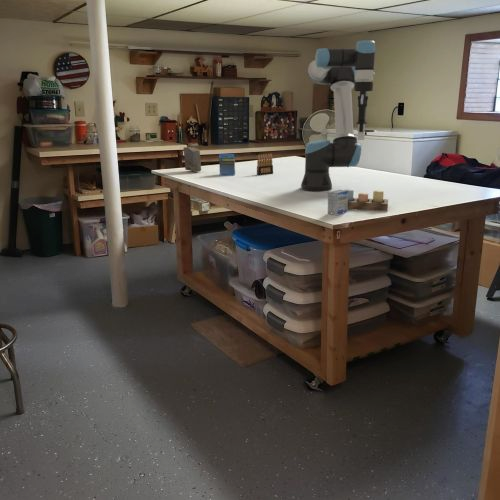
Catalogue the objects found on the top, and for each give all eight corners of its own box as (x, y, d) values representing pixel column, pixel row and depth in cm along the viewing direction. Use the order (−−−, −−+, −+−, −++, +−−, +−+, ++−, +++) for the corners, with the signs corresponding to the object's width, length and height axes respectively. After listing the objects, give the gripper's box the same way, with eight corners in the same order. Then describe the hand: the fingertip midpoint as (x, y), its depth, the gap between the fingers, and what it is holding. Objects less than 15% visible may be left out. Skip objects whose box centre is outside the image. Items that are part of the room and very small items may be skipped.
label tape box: (235, 174, 303) (235, 153, 299) (234, 175, 299) (234, 154, 295) (220, 174, 303) (220, 153, 300) (219, 175, 300) (218, 154, 296)
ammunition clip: (271, 173, 305) (271, 152, 301) (273, 173, 303) (273, 153, 300) (256, 175, 299) (256, 154, 295) (258, 175, 297) (258, 154, 294)
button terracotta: (357, 207, 212) (358, 194, 211) (358, 205, 216) (358, 192, 214) (367, 207, 211) (368, 195, 210) (367, 205, 215) (368, 193, 213)
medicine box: (336, 215, 201) (337, 193, 199) (327, 213, 204) (327, 192, 202) (347, 211, 207) (348, 190, 204) (338, 210, 210) (338, 189, 207)
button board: (337, 208, 212) (337, 201, 211) (339, 204, 220) (339, 197, 219) (387, 211, 207) (387, 203, 206) (387, 206, 215) (388, 199, 214)
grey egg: (342, 203, 213) (343, 191, 212) (343, 201, 217) (344, 189, 215) (352, 204, 212) (353, 191, 211) (353, 202, 216) (354, 189, 214)
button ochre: (372, 205, 210) (373, 192, 209) (373, 203, 214) (373, 190, 212) (382, 205, 209) (383, 192, 208) (382, 203, 213) (383, 190, 211)
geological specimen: (201, 172, 310) (200, 147, 306) (192, 173, 307) (191, 148, 302) (193, 170, 319) (192, 146, 314) (184, 171, 315) (183, 146, 311)
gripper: (372, 80, 205) (369, 141, 212) (373, 81, 217) (370, 138, 224) (353, 81, 207) (350, 141, 213) (355, 81, 219) (353, 138, 225)
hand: (360, 139), depth 219 cm, fingers closed
